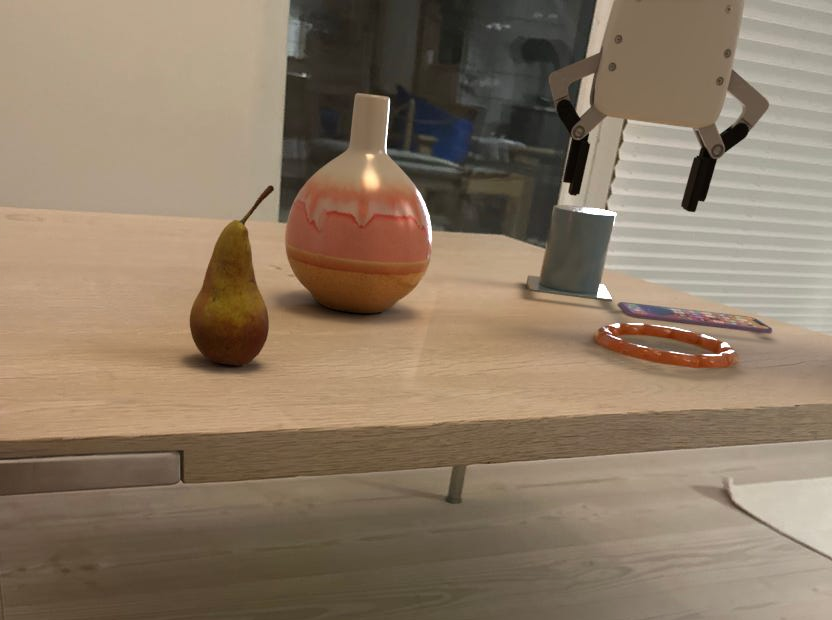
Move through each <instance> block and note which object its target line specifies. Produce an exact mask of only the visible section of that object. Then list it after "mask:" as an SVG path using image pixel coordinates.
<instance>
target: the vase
mask: <svg viewBox="0 0 832 620" xmlns="http://www.w3.org/2000/svg"><path fill="white" fill-rule="evenodd" d="M353 101H354V102H353V109H352V110H353V111H352V119H351V127H350V128H351V129H350V138H349V144H348V148H347V149H346V150H345V151H343V152H342V153H341V154H339V155H338V156H337V157H334V158H333V159H331V160H330V161H329V162H327V163H326V164H325V165H324V166H322V167H320V168H319V170H317V171H316V172H315V173H313V175H312V176H311V177H310V178H309V179H308V180H307V181H306V182H305V184H304V185H303V186H301V188H300V189H299V191H298V193H297V194H296V197H295V198H294V200H293V201H292V205H291V206H290V210H289V214H288V218H287V221H286V226H285V233H284V237H285V238H284V246H285V253H286V257H287V261H288V263H289V266H290V268H291V270H292V272H293V274H294V276H295V277H296V279H297V280H298V282H299V283H300V284H301V285H302V286H303V287H304V288H305V289H306V290H307V291H308V292H309V294H310V295H311V297H312V298H313V299H314V300H315V301H316V302H317V304H319V305H320V306H323V307H325V308H328V309H331V310H333V311H334V310H335V311H340V312H345V313H352V314H377V313H383V312H386V311H388V310H390V309H391V308H393V307H394V306H395V305H396V303H397V302H399V301H401V300H403V298H405V297H406V296H408V295H409V294H410V293H411V292H413V290H414V289H415V288H416V287H417V286H418V285H419V283H420V282H421V281H422V280H423V278H424V276H425V274H426V272H427V270H428V268H429V264H430V262H431V259H432V258H431V257H432V251H433V229H432V222H431V217H430V212H429V210H428V208H427V203H426V202H425V200H424V198H423V196H422V194H421V192H420V191H419V189H418V188H417V186H416V184H415V183H414V182H413V181H412V180H411V179H410V177H409V175H408V174H407V173H406V172H405V171H404V170H403V169H402V168H401V167H400V166H399V165H398V164H397V162H395V161H394V160H393V159H392V158H391V157H390V156H389V154H388V153H387V141H388V129H389V120H390V119H389V118H390V105H391V99H390V97H389V96H385V95H378V94H369V93H360V92H357V93H355V95H354V100H353Z"/></svg>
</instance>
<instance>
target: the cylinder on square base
mask: <svg viewBox="0 0 832 620" xmlns="http://www.w3.org/2000/svg"><path fill="white" fill-rule="evenodd" d="M616 217H617V213H616V212H613V211H609V210H605V209H600V208H594V207H589V206H588V207H587V206H579V205H569V204H556V205H555V204H554V205H553V207H552V211H551V217H550V223H549V227H548V233H547V237H546V243H545V248H544V253H543V259H542V263H541V268H540V274H539V276H538V275H537V276H536V275H529V274H528V275H527V278H526V283H525V284H526V287H527V290H529V292H535V293H541V294H551V295H558V296H565V297H566V296H567V297H573V298H581V299H582V298H583V299H587V300H589V299H590V300H597V301H606V302H613V298H612V296H611V294H610V293H609V291H608V290H607V288H606V286H605V285H604V284H601V283H602V279H603V274H604V269H605V265H606V260H607V256H608V253H609V252H608V251H609V247H610V243H611V239H612V234H613V231H614V230H613V229H614V225H615V220H616Z"/></svg>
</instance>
